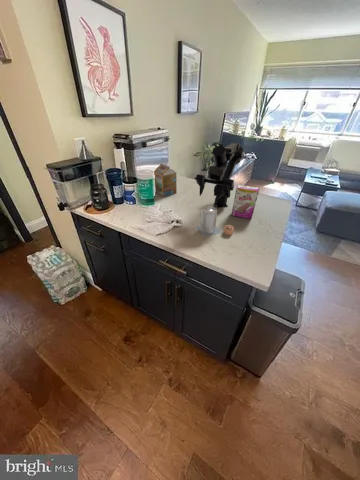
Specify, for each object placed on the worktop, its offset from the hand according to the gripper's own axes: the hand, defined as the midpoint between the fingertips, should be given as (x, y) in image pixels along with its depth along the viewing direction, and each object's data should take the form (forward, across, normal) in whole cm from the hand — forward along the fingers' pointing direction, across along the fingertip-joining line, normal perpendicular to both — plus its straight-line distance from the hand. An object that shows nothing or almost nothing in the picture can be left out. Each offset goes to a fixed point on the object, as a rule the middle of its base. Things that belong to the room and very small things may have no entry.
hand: (208, 197), depth 95 cm
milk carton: (-11, -40, +28) cm, 50 cm away
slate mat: (+14, +4, +7) cm, 16 cm away
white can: (+14, +3, +6) cm, 16 cm away
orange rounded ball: (+13, +13, +8) cm, 20 cm away
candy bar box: (-4, +15, +22) cm, 27 cm away
